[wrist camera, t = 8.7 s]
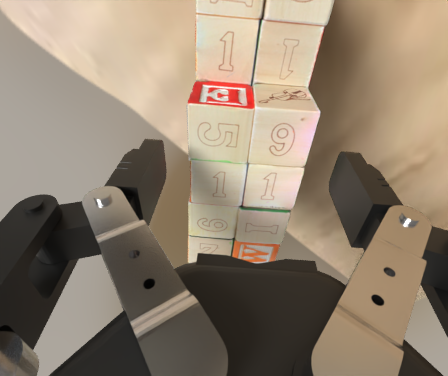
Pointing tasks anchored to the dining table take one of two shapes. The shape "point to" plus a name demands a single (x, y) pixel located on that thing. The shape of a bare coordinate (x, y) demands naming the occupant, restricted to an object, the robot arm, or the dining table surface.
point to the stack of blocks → (250, 122)
